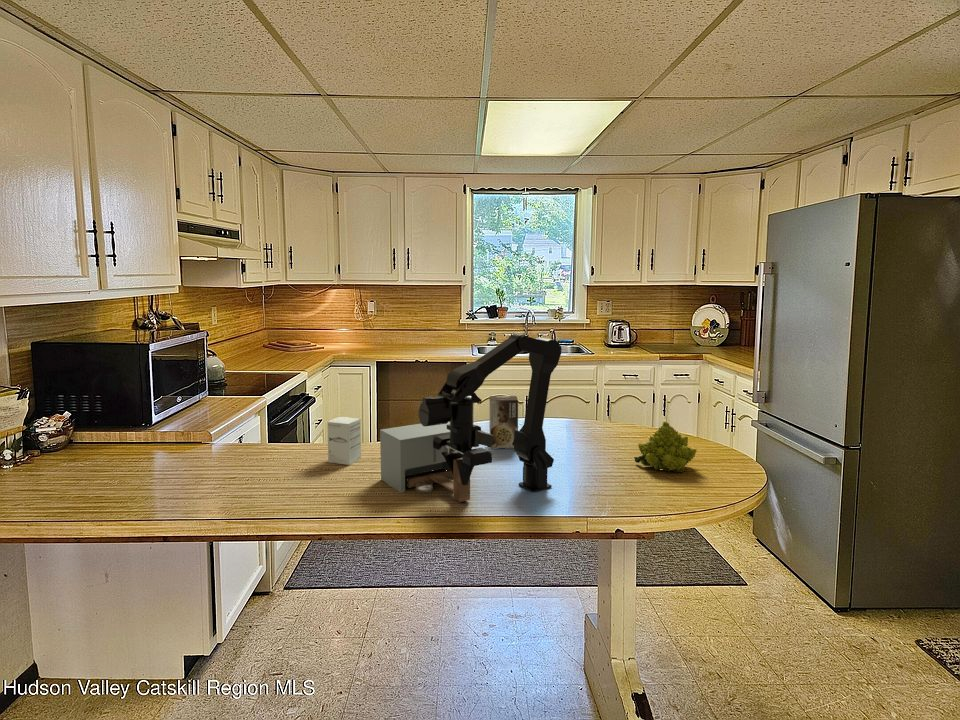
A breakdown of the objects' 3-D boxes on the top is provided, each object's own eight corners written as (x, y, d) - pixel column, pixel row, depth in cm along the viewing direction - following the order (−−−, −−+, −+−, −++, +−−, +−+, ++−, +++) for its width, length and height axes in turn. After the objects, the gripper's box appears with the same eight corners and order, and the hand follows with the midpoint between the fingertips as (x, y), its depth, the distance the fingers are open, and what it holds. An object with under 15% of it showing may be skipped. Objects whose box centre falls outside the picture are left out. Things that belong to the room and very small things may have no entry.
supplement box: (327, 463, 182) (326, 421, 180) (340, 456, 189) (339, 415, 187) (349, 465, 180) (348, 423, 178) (362, 458, 187) (361, 417, 185)
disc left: (435, 491, 160) (435, 485, 160) (420, 494, 157) (420, 488, 157) (427, 486, 164) (427, 480, 163) (412, 489, 161) (412, 483, 161)
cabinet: (466, 478, 169) (466, 429, 167) (401, 493, 158) (400, 440, 156) (444, 466, 179) (444, 419, 177) (381, 479, 168) (380, 429, 166)
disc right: (462, 485, 164) (462, 479, 164) (448, 488, 162) (448, 482, 162) (453, 480, 168) (453, 474, 168) (439, 483, 165) (439, 477, 165)
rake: (490, 494, 156) (490, 456, 154) (438, 507, 148) (438, 466, 146) (456, 476, 169) (456, 441, 168) (407, 486, 161) (406, 449, 160)
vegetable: (620, 452, 182) (650, 410, 181) (653, 472, 189) (681, 432, 188) (650, 476, 169) (683, 432, 168) (684, 497, 176) (715, 454, 175)
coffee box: (516, 443, 204) (517, 395, 202) (518, 448, 198) (519, 399, 195) (488, 443, 204) (489, 395, 201) (489, 449, 197) (490, 399, 195)
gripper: (511, 425, 147) (510, 488, 149) (469, 409, 162) (468, 467, 164) (471, 431, 141) (471, 497, 143) (431, 415, 156) (432, 474, 158)
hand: (461, 482), depth 152 cm, fingers closed on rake, 3 cm apart
